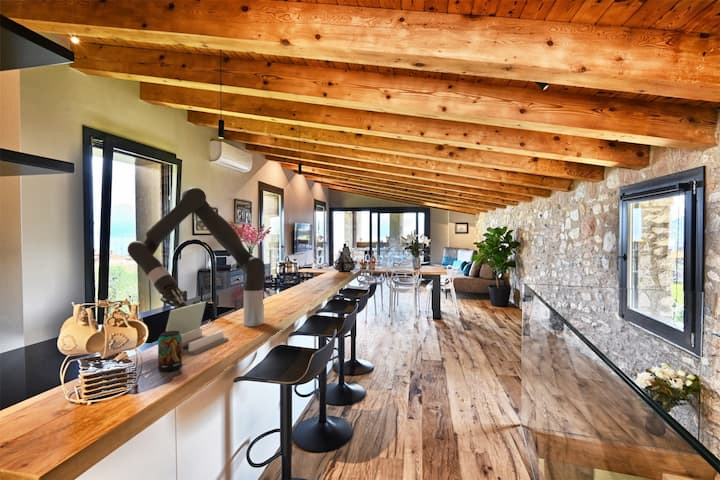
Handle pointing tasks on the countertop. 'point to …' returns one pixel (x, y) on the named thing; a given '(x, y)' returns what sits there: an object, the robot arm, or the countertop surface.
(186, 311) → the cover
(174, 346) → the beverage can
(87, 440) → the countertop surface
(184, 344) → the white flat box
